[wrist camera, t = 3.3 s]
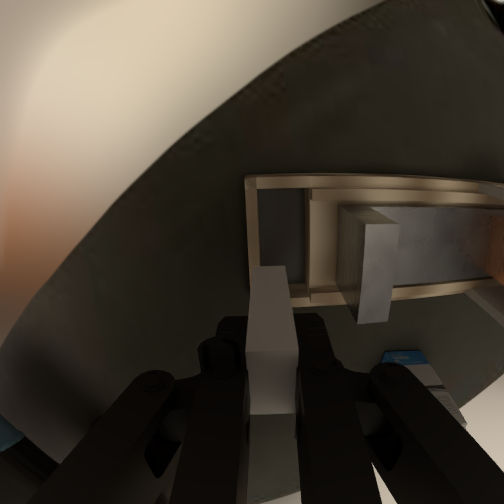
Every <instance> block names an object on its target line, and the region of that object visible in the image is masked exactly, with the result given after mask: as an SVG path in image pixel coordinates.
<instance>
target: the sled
mask: <svg viewBox="0 0 504 504" xmlns="http://www.w3.org/2000/svg"><path fill="white" fill-rule="evenodd" d="M488 276H492V277H493V278H495V279H496V280H497V281H499V282H500V283H502V284H503V285H504V208H491V207H469V206H439V205H339V214H338V249H337V271H336V285H337V287H338V289H339V290H340V292H341V294H342V296H343V298H344V300H345V302H346V304H347V306H348V308H349V309H350V311H351V313H352V315H353V317H354V319H355V321H356V323H357V324H366V323H376V322H386V321H388V316H389V310H390V303H391V297H392V290H393V285H405V284H417V283H429V282H440V281H450V280H460V279H470V278H479V277H488Z"/></svg>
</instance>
